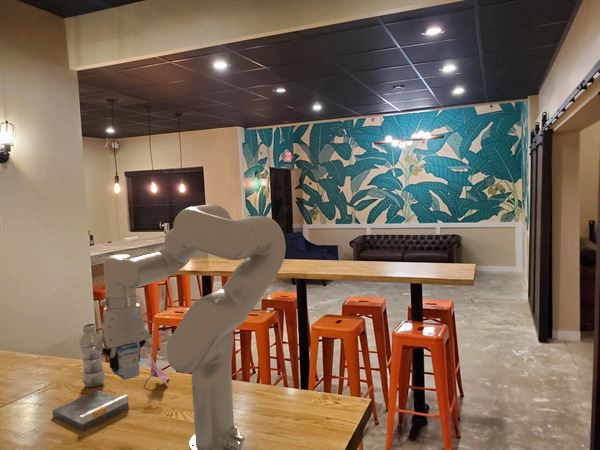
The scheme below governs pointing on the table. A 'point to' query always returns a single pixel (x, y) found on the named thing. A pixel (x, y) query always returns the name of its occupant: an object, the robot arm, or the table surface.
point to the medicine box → (127, 361)
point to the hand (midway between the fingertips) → (125, 366)
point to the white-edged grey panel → (91, 409)
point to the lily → (156, 371)
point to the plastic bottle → (91, 357)
